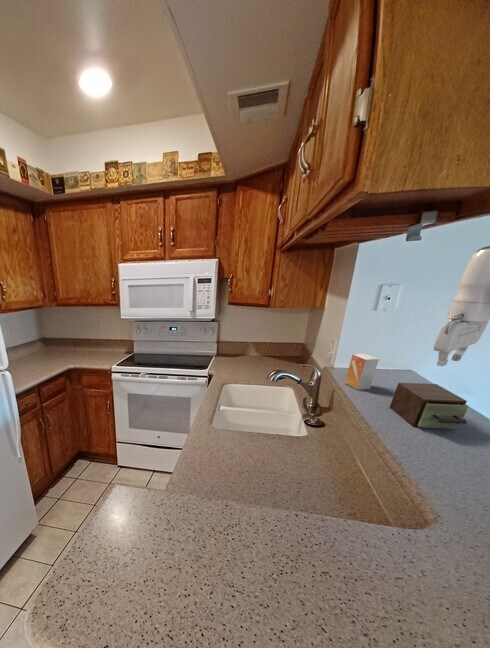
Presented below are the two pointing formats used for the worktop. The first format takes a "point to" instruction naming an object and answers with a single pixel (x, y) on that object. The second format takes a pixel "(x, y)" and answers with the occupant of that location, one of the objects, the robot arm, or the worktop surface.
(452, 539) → the worktop surface
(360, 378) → the small box
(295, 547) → the worktop surface
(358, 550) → the worktop surface
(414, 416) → the cabinet
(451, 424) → the drawer
